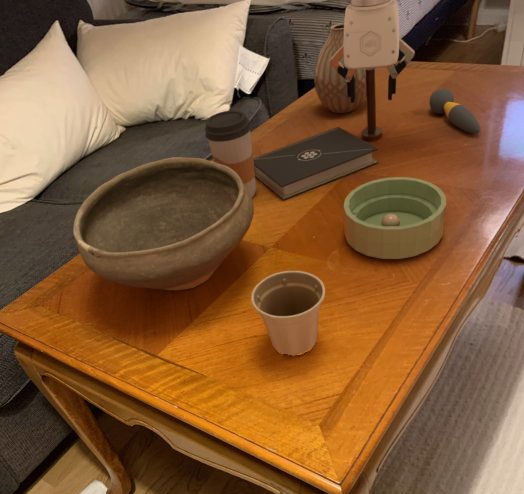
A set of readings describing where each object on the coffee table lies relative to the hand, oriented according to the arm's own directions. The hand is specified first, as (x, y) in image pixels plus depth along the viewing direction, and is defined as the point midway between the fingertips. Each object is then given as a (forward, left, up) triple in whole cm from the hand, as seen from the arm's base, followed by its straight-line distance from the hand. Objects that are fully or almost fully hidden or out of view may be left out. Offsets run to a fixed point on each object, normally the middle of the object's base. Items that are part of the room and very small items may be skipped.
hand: (371, 98), depth 104 cm
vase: (+8, -19, -9) cm, 23 cm away
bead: (-5, +35, -5) cm, 36 cm away
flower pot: (+6, +61, -9) cm, 62 cm away
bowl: (+28, +46, -9) cm, 55 cm away
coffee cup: (+24, +21, -9) cm, 33 cm away
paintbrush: (-17, -8, -9) cm, 21 cm away
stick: (0, -2, -9) cm, 9 cm away
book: (+11, +11, -9) cm, 18 cm away
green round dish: (-6, +35, -9) cm, 37 cm away
